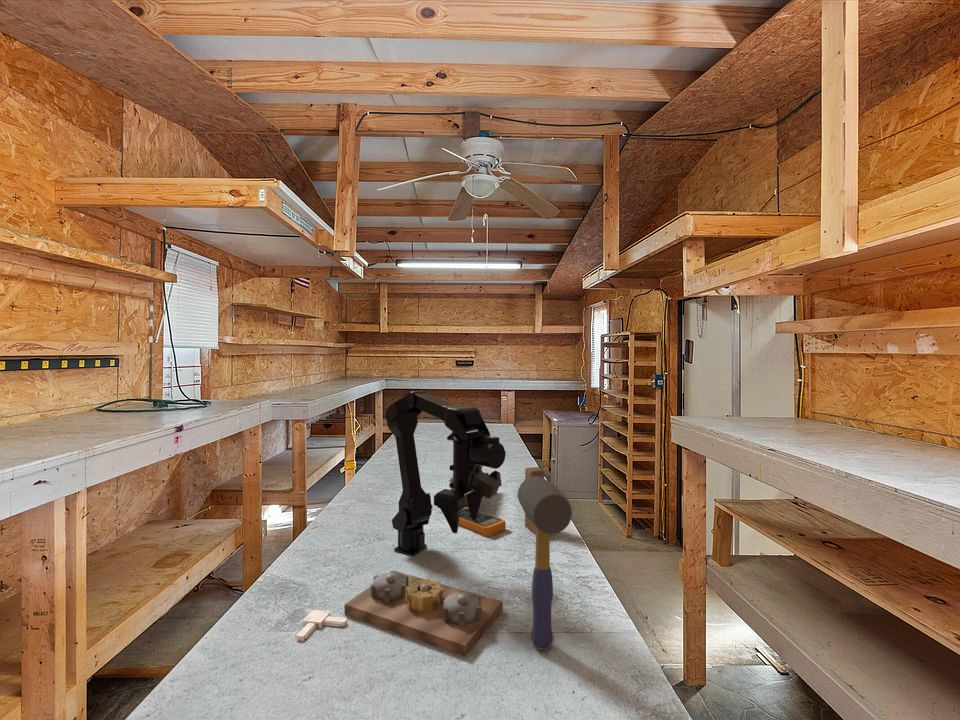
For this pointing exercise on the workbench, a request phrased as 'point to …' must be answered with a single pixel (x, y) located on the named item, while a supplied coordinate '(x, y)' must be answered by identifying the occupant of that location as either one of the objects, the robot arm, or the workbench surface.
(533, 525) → the wooden block
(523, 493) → the rubber mallet
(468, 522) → the multimeter
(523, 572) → the workbench surface
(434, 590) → the brass gear
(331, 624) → the corner connector
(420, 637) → the gear board
